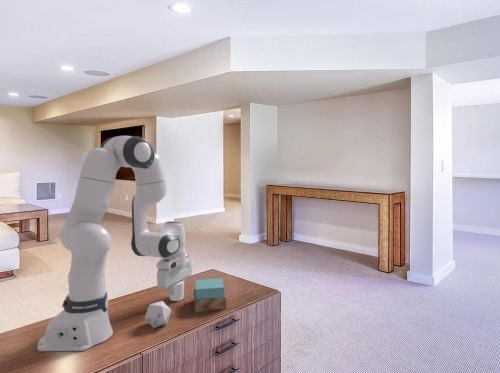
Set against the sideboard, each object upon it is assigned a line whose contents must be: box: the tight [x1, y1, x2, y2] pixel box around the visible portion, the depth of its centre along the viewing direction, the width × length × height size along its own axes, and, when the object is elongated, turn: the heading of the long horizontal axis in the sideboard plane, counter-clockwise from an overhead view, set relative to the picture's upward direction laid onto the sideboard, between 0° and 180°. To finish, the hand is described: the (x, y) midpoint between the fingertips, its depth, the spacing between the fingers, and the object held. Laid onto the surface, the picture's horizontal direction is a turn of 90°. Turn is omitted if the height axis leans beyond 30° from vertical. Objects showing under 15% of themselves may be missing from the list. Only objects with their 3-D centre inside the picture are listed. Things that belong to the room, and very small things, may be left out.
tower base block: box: [193, 288, 227, 313], centre depth 146 cm, size 12×12×5 cm
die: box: [144, 300, 172, 329], centre depth 129 cm, size 8×9×10 cm
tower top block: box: [195, 277, 225, 300], centre depth 145 cm, size 11×11×4 cm
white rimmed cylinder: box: [168, 280, 185, 302], centre depth 152 cm, size 7×7×7 cm
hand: (176, 291), depth 152 cm, fingers closed on white rimmed cylinder, 5 cm apart
